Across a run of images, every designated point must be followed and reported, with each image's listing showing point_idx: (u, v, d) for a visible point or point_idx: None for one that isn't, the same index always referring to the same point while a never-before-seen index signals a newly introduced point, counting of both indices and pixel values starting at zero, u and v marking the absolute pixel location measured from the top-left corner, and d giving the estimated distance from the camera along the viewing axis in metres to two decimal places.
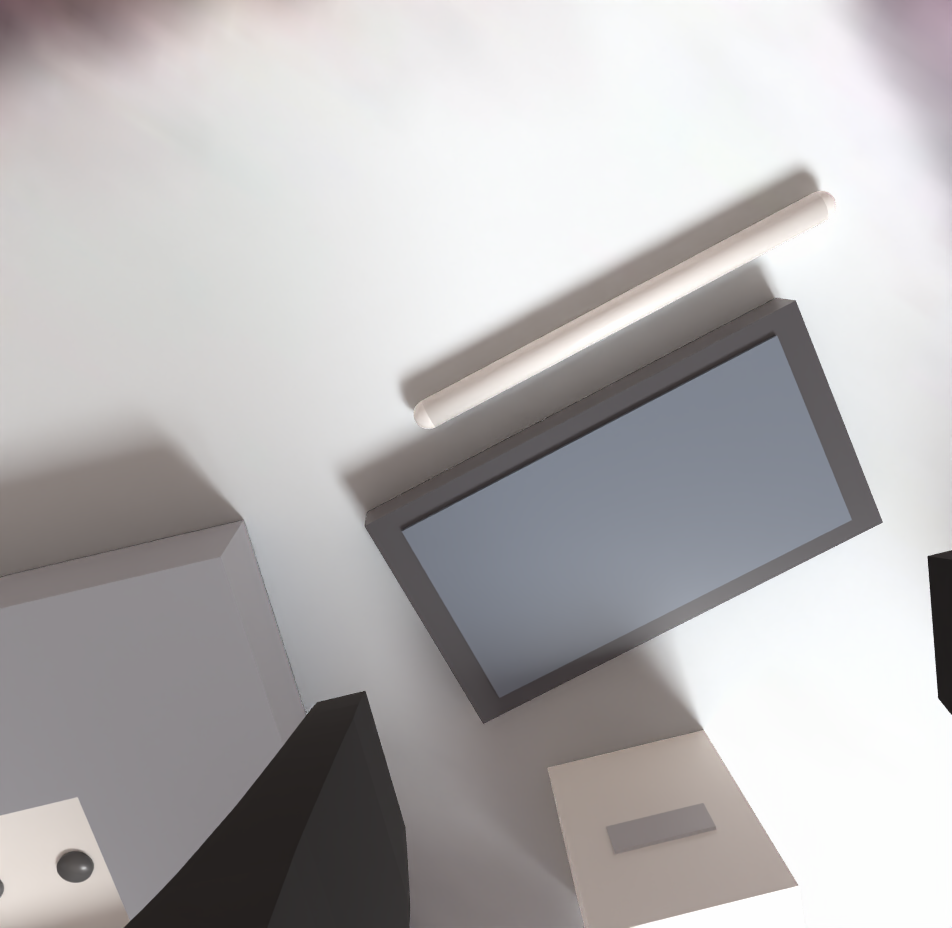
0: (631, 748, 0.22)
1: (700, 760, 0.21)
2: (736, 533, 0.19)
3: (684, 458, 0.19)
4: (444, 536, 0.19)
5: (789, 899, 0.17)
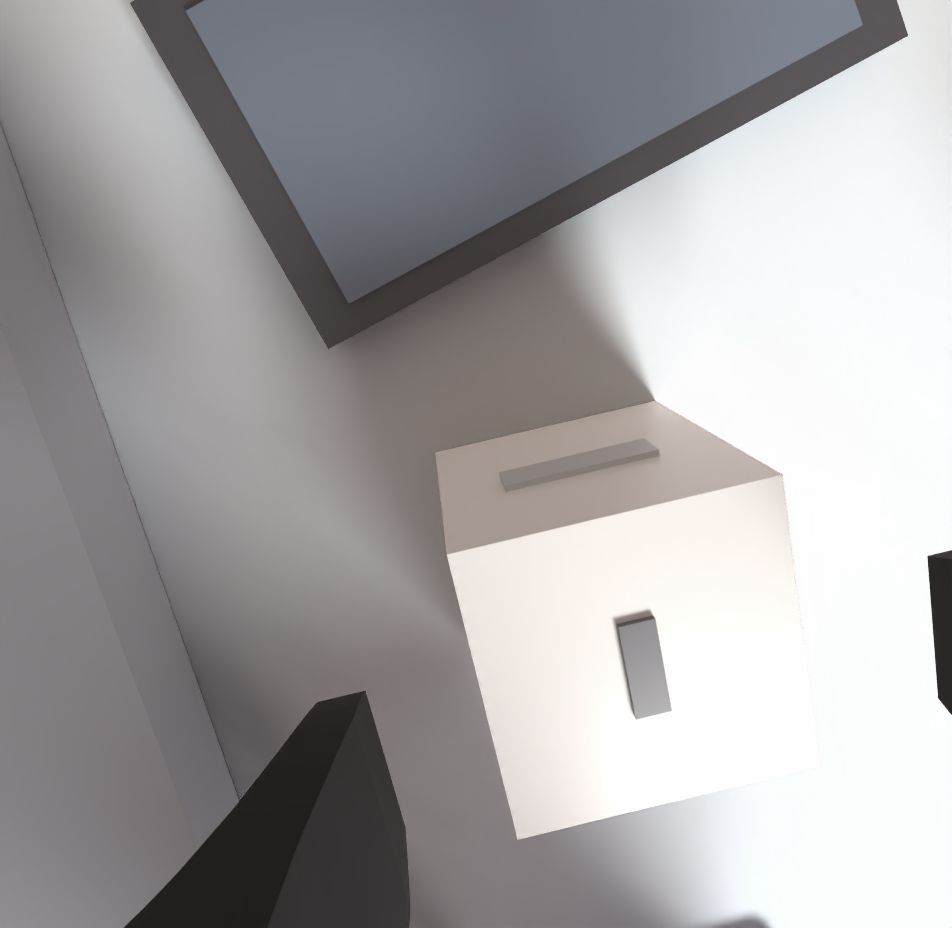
0: (553, 427, 0.16)
1: (646, 418, 0.14)
2: (692, 40, 0.13)
3: None
4: (253, 27, 0.13)
5: (767, 499, 0.10)
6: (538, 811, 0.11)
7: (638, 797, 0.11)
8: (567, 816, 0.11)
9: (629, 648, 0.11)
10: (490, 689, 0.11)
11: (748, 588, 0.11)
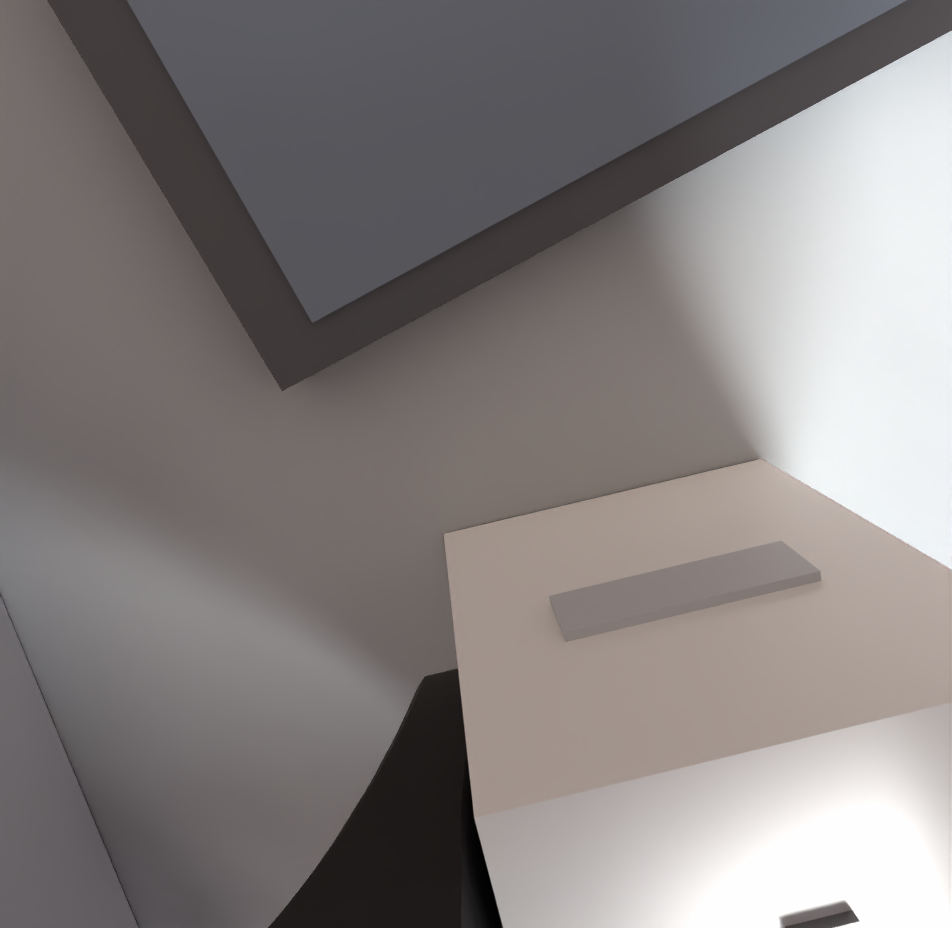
0: (615, 498, 0.11)
1: (762, 493, 0.10)
2: None
3: None
4: None
5: None
6: None
7: None
8: None
9: None
10: None
11: None
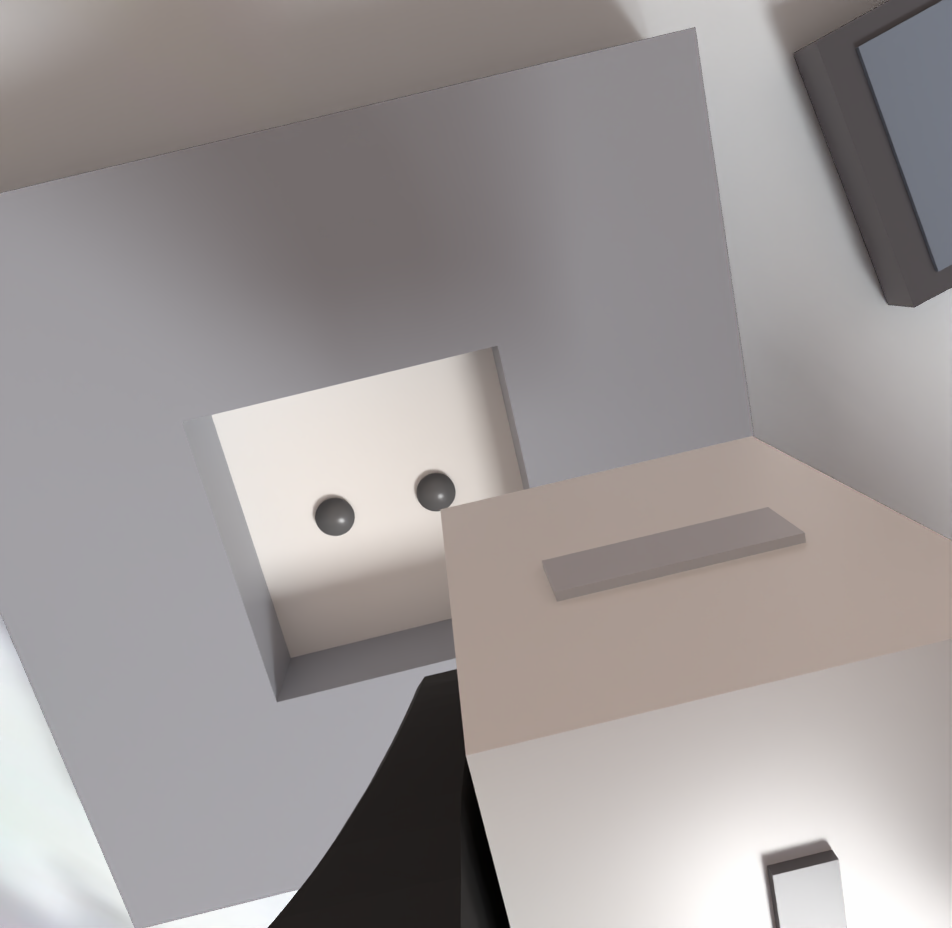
0: (609, 474, 0.11)
1: (752, 466, 0.10)
2: None
3: None
4: (901, 58, 0.16)
5: None
6: None
7: None
8: None
9: (789, 903, 0.06)
10: None
11: None
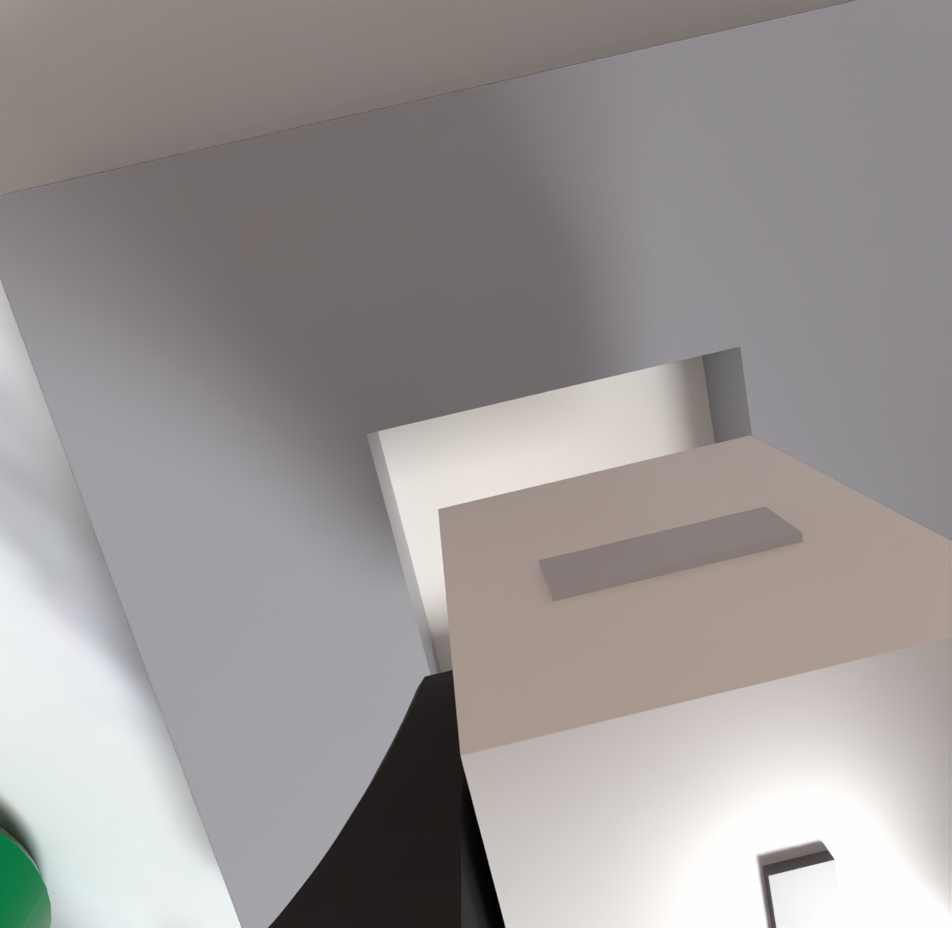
0: (607, 474, 0.11)
1: (750, 466, 0.10)
2: None
3: None
4: None
5: None
6: None
7: None
8: None
9: (784, 904, 0.06)
10: None
11: None
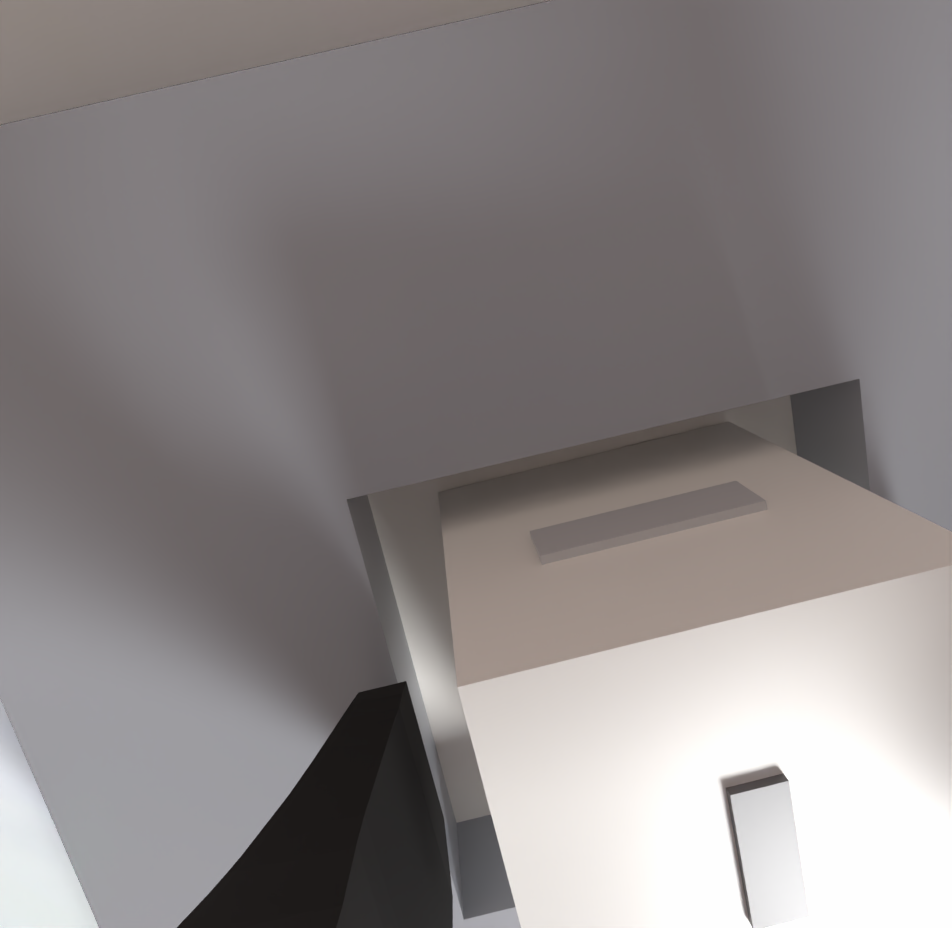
0: (595, 459, 0.12)
1: (726, 447, 0.11)
2: None
3: None
4: None
5: None
6: None
7: None
8: None
9: (746, 822, 0.07)
10: (525, 889, 0.07)
11: (933, 730, 0.07)
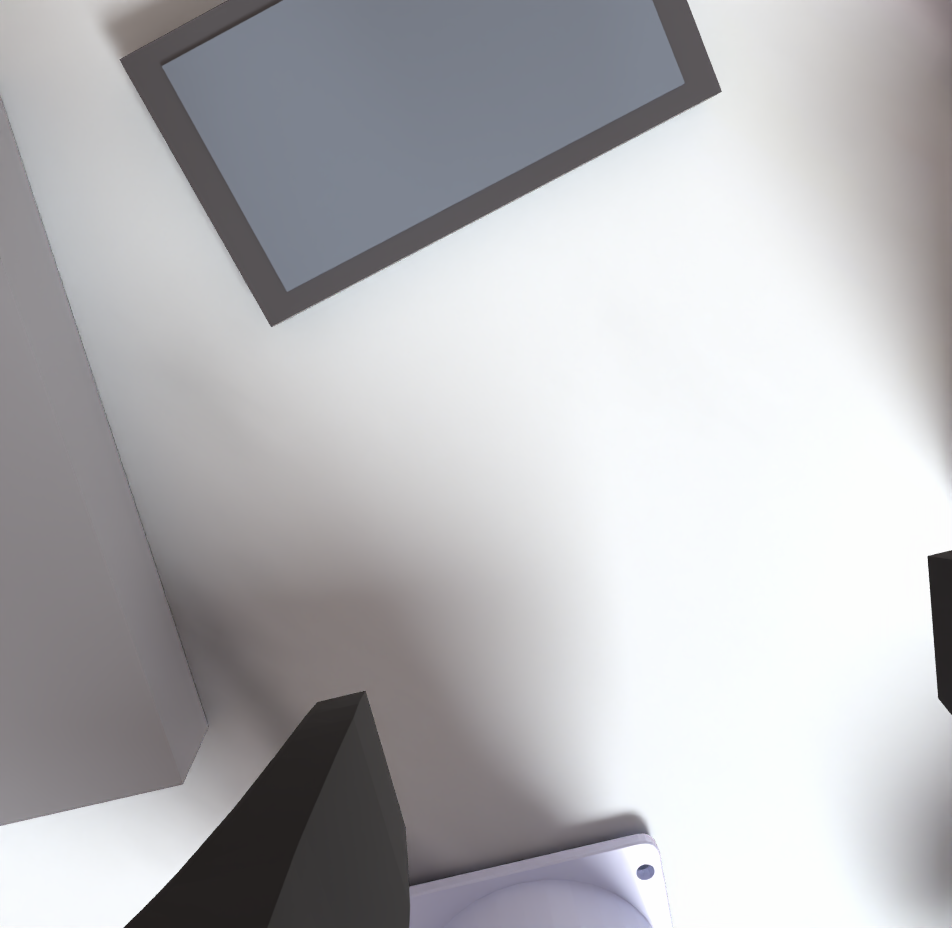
0: None
1: None
2: (552, 92, 0.17)
3: None
4: (213, 78, 0.16)
5: None
6: None
7: None
8: None
9: None
10: None
11: None
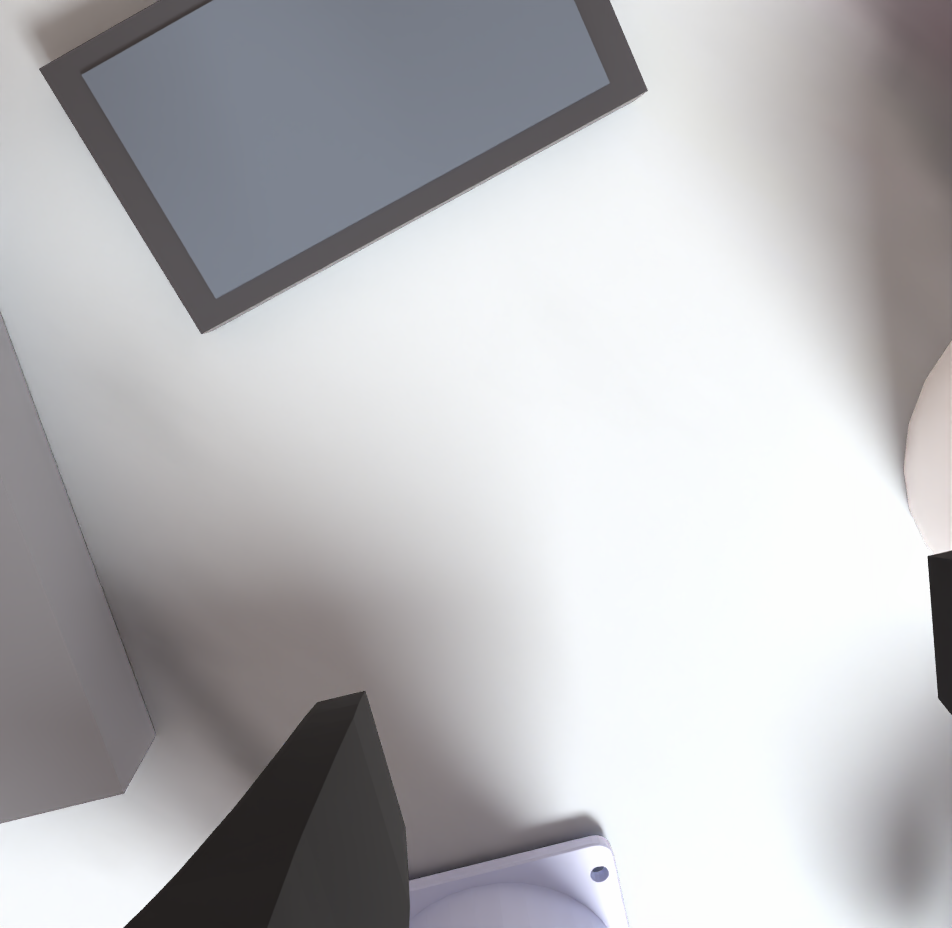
0: None
1: None
2: (476, 94, 0.17)
3: None
4: (134, 86, 0.16)
5: None
6: None
7: None
8: None
9: None
10: None
11: None
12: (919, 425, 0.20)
